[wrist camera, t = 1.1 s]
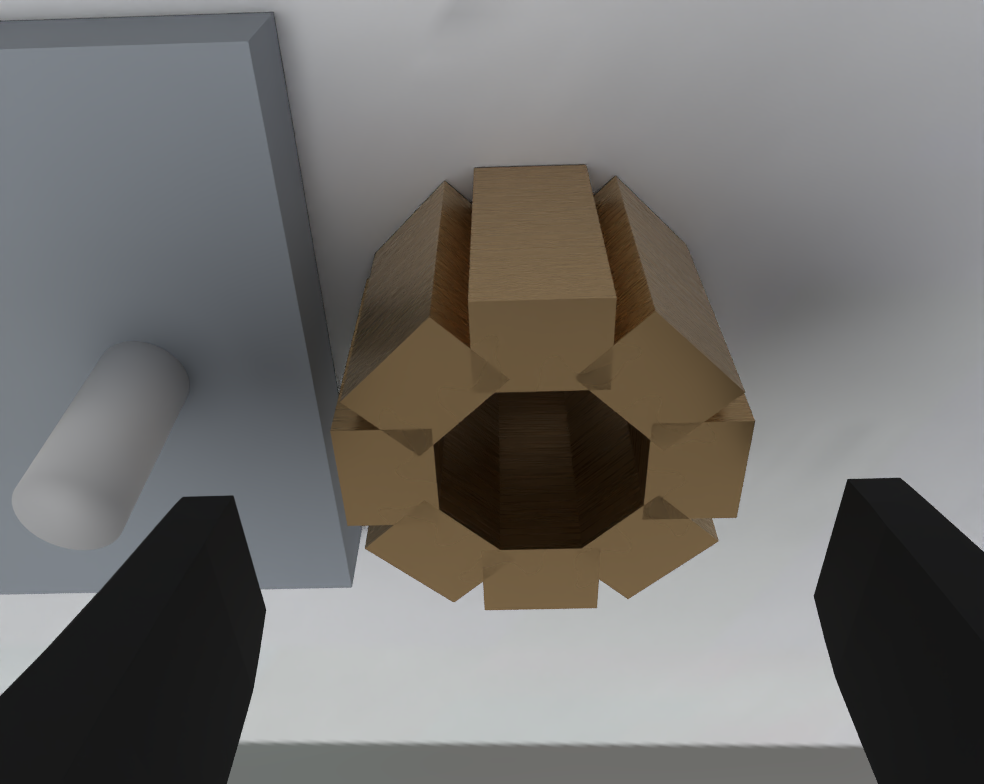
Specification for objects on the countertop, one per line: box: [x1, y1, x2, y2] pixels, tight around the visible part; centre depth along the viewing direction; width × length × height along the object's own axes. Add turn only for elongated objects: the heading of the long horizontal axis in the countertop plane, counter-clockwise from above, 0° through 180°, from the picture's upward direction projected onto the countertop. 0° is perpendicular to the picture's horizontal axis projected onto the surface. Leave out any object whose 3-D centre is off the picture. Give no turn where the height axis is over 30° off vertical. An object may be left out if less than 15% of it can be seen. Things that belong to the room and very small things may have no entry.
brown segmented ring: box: [330, 165, 755, 610], centre depth 13 cm, size 5×5×4 cm
